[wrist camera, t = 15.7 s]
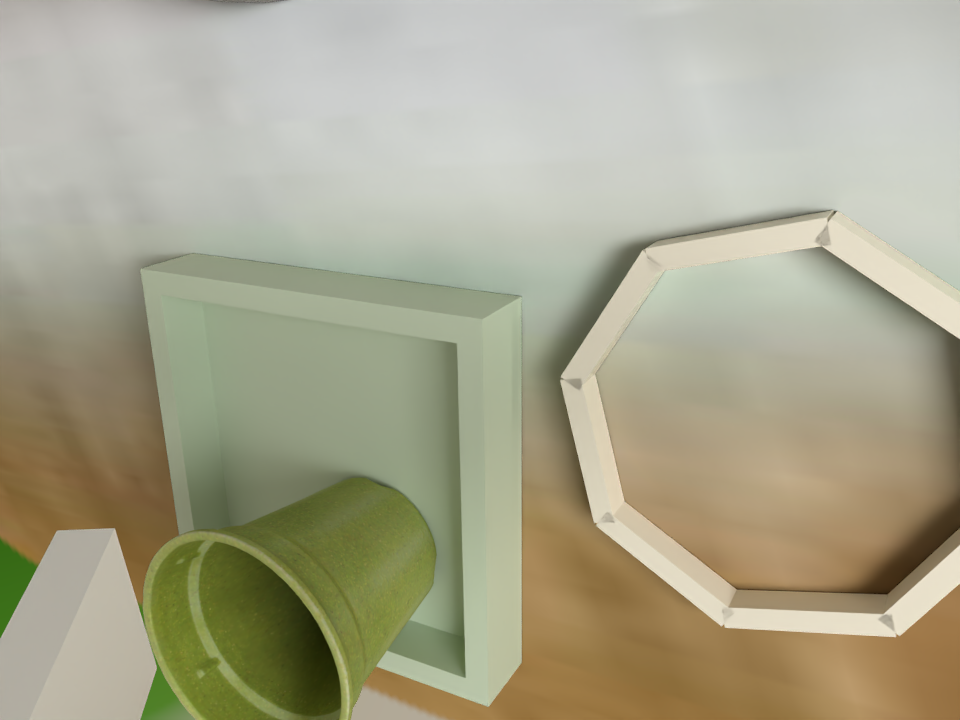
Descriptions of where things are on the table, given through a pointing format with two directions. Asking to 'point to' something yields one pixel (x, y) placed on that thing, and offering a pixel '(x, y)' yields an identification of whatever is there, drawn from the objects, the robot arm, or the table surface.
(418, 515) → the plant pot
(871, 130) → the table surface
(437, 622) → the tray
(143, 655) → the robot arm
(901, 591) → the collar ring
